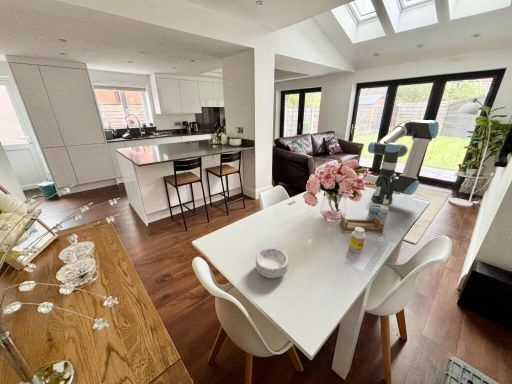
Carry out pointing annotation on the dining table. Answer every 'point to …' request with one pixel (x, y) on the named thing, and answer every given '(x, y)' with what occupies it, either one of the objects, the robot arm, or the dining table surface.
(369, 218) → the light bulb box
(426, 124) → the robot arm
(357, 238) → the supplement bottle
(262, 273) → the white marbled bowl
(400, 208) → the dining table surface
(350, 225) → the tray
